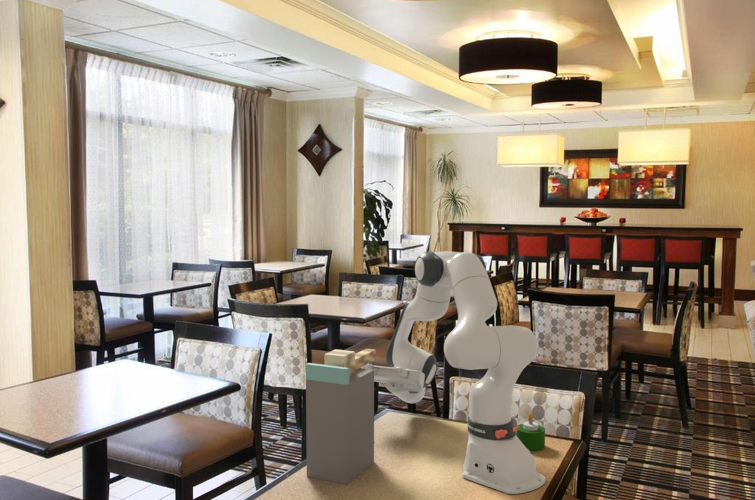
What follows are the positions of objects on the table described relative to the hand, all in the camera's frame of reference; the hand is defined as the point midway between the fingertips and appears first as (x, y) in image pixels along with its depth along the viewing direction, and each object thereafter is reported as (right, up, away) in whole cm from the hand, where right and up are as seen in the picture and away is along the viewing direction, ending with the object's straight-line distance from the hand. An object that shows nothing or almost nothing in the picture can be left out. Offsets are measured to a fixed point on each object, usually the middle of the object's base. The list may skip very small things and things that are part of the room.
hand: (383, 368), depth 198 cm
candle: (+44, -22, -6) cm, 49 cm away
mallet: (-8, +3, -18) cm, 20 cm away
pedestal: (-11, -23, -22) cm, 34 cm away
